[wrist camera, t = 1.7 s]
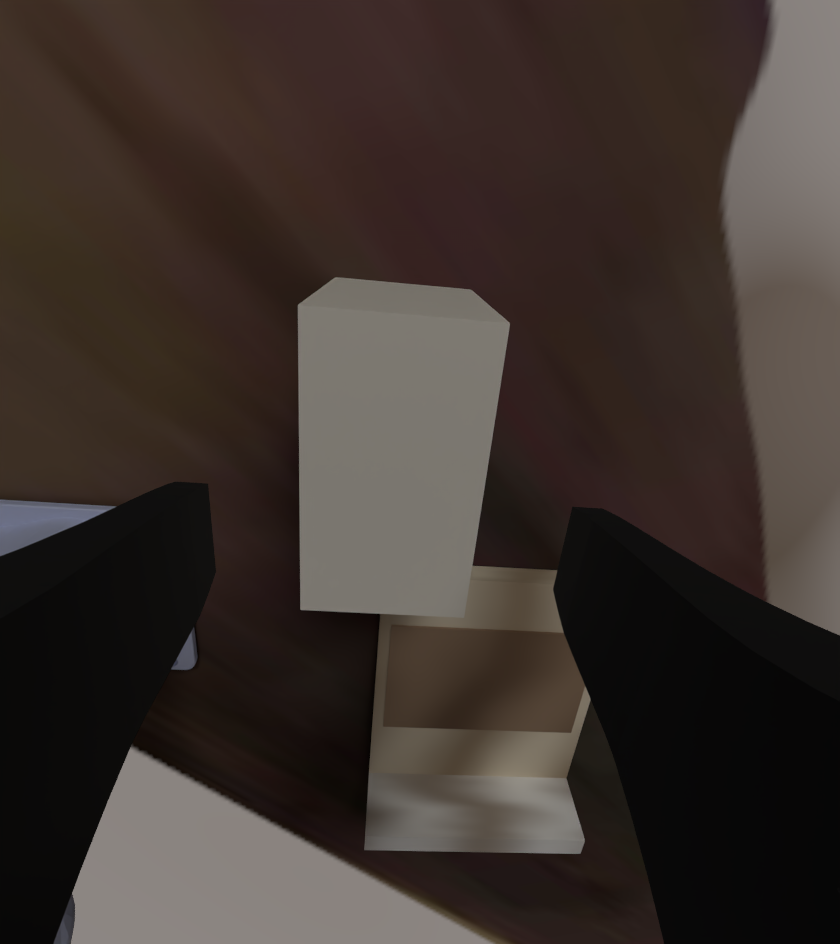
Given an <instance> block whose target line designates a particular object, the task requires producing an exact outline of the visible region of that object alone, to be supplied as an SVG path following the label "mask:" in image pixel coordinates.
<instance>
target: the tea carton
mask: <svg viewBox="0 0 840 944" xmlns="http://www.w3.org/2000/svg"><path fill="white" fill-rule="evenodd" d="M509 327H510V323H509V322H508V321H507V320H506V319H504V318H503V317H502V316H501V315H500V314H499V313H497V312H496V311H495V310H494V309H493V308H492V307H491V306H489V305H488V304H487V303H486V302H485V301H484V300H482V299H481V298H480V297H479V296H478V295H477V294H475V293H474V292H473V291H472V290H470V289H459V288H448V287H437V286H426V285H414V284H403V283H392V282H381V281H370V280H359V279H348V278H337V277H335V278H334V279H333V280H331V281H330V282H329V283H327V284H326V285H324V286H323V287H322V288H320V289H319V290H318V291H316V292H315V293H314V294H312V295H311V296H309V297H308V298H307V299H305V300H304V301H303V302H301V303H300V304H299V305H298V372H299V495H300V610H312V611H333V612H354V613H374V614H395V615H416V616H436V617H457V618H464V615H465V609H466V602H467V596H468V590H469V583H470V577H471V570H472V564H473V558H474V551H475V545H476V538H477V532H478V526H479V519H480V513H481V506H482V500H483V494H484V487H485V481H486V474H487V468H488V462H489V455H490V449H491V442H492V436H493V429H494V423H495V417H496V410H497V404H498V397H499V391H500V385H501V378H502V372H503V365H504V359H505V353H506V346H507V340H508V333H509Z"/></svg>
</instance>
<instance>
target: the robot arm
mask: <svg viewBox="0 0 840 944" xmlns="http://www.w3.org/2000/svg"><path fill="white" fill-rule="evenodd" d="M215 573H216V568H215V557H214V546H213V535H212V524H211V513H210V502H209V491H208V484H203V483H187V482H173V483H170V484H167V485H164V486H162V487H159V488H157V489H154V490H152V491H150V492H147V493H145V494H143V495H141V496H139V497H136V498H134V499H132V500H130V501H128V502H126V503H124V504H121V505H119V506H117V507H116V506H99V505H82V504H65V503H49V502H32V501H15V500H0V944H71V939H72V933H73V928H74V921H75V904H74V900H73V895H72V892H73V889H74V886H75V883H76V881H77V878H78V875H79V873H80V870H81V867H82V865H83V862H84V860H85V857H86V855H87V852H88V850H89V847H90V844H91V842H92V839H93V837H94V834H95V832H96V829H97V827H98V824H99V822H100V819H101V817H102V814H103V811H104V809H105V806H106V804H107V801H108V799H109V797H110V794H111V792H112V789H113V787H114V785H115V782H116V780H117V778H118V775H119V773H120V770H121V768H122V766H123V763H124V761H125V758H126V756H127V754H128V751H129V749H130V747H131V744H132V742H133V740H134V738H135V736H136V734H137V732H138V730H139V728H140V726H141V724H142V722H143V720H144V718H145V716H146V714H147V712H148V711H149V709H150V707H151V705H152V703H153V701H154V700H155V698H156V696H157V694H158V692H159V690H160V689H161V687H162V685H163V683H164V681H165V679H166V678H167V676H168V674H169V672H170V670H171V669H174V670H188V669H191V668H193V667H194V665H195V664H196V661H197V658H198V655H197V647H196V638H195V630H194V626H195V624H196V622H197V620H198V618H199V616H200V614H201V611H202V609H203V606H204V603H205V601H206V598H207V596H208V593H209V590H210V587H211V584H212V581H213V578H214V576H215ZM553 592H554V596H555V601H556V605H557V609H558V614H559V617H560V621H561V625H562V628H563V632H564V635H565V637H566V640H567V643H568V645H569V648H570V650H571V653H572V655H573V657H574V660H575V662H576V665H577V667H578V670H579V672H580V675H581V677H582V679H583V682H584V684H585V687H586V689H587V691H588V694H589V696H590V699H591V701H592V703H593V706H594V708H595V711H596V713H597V715H598V718H599V720H600V723H601V725H602V727H603V730H604V732H605V735H606V738H607V740H608V743H609V746H610V748H611V751H612V754H613V757H614V760H615V763H616V766H617V769H618V773H619V776H620V780H621V783H622V786H623V790H624V793H625V796H626V800H627V803H628V806H629V810H630V813H631V816H632V820H633V824H634V827H635V831H636V835H637V838H638V842H639V846H640V849H641V853H642V857H643V860H644V864H645V868H646V871H647V875H648V879H649V883H650V887H651V891H652V895H653V899H654V903H655V907H656V911H657V916H658V920H659V924H660V928H661V932H662V936H663V940H664V944H840V636H839V635H837V634H834V633H832V632H830V631H828V630H825V629H823V628H821V627H818V626H816V625H814V624H812V623H809V622H807V621H805V620H803V619H801V618H798V617H796V616H794V615H792V614H790V613H788V612H786V611H784V610H782V609H780V608H778V607H775V606H773V605H771V604H769V603H767V602H765V601H763V600H761V599H759V598H757V597H755V596H753V595H751V594H749V593H747V592H745V591H744V590H742V589H740V588H738V587H736V586H734V585H733V584H731V583H729V582H727V581H725V580H724V579H722V578H720V577H718V576H716V575H715V574H713V573H711V572H709V571H708V570H706V569H704V568H702V567H701V566H699V565H697V564H696V563H694V562H692V561H691V560H689V559H687V558H686V557H684V556H682V555H681V554H679V553H677V552H676V551H674V550H672V549H671V548H669V547H668V546H666V545H664V544H663V543H661V542H659V541H658V540H656V539H655V538H653V537H651V536H650V535H648V534H647V533H645V532H643V531H642V530H640V529H638V528H637V527H635V526H634V525H632V524H630V523H629V522H627V521H625V520H623V519H622V518H620V517H618V516H616V515H614V514H612V513H611V512H608V511H606V510H604V509H598V508H582V507H573V508H572V512H571V516H570V520H569V524H568V528H567V533H566V537H565V541H564V545H563V549H562V554H561V558H560V562H559V566H558V570H557V574H556V579H555V583H554V587H553Z"/></svg>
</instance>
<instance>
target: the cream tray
mask: <svg viewBox="0 0 840 944" xmlns="http://www.w3.org/2000/svg"><path fill="white" fill-rule="evenodd" d="M556 574H557V570H539V569H521V568H503V567H485V566H472V570H471V577H470V583H469V590H468V596H467V602H466V609H465V615H464V618H457V617H436V616H416V615H395V614H380V624H379V638H378V652H377V666H376V680H375V694H374V708H373V722H372V735H371V749H370V763H369V779H368V797H367V814H366V831H365V848H364V850H395V851H451V852H508V853H564V854H580V853H581V850H582V847H583V845H584V842H585V839H584V836H583V833H582V829H581V826H580V823H579V819H578V816H577V813H576V809H575V806H574V803H573V799H572V796H571V793H570V789H569V786H568V783H567V779H566V777H567V774H568V771H569V767H570V764H571V761H572V758H573V754H574V751H575V748H576V745H577V742H578V738H579V735H580V732H581V729H582V725H583V722H584V719H585V716H586V712H587V709H588V706H589V703H590V700H591V699H590V696H589V694H588V691H587V689H586V687H585V684H584V682H583V679H582V677H581V675H580V672H579V670H578V667H577V665H576V662H575V660H574V657H573V655H572V653H571V650H570V648H569V645H568V643H567V640H566V637H565V635H564V632H563V628H562V625H561V621H560V617H559V614H558V609H557V605H556V601H555V596H554V592H553V587H554V583H555V579H556Z"/></svg>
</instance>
